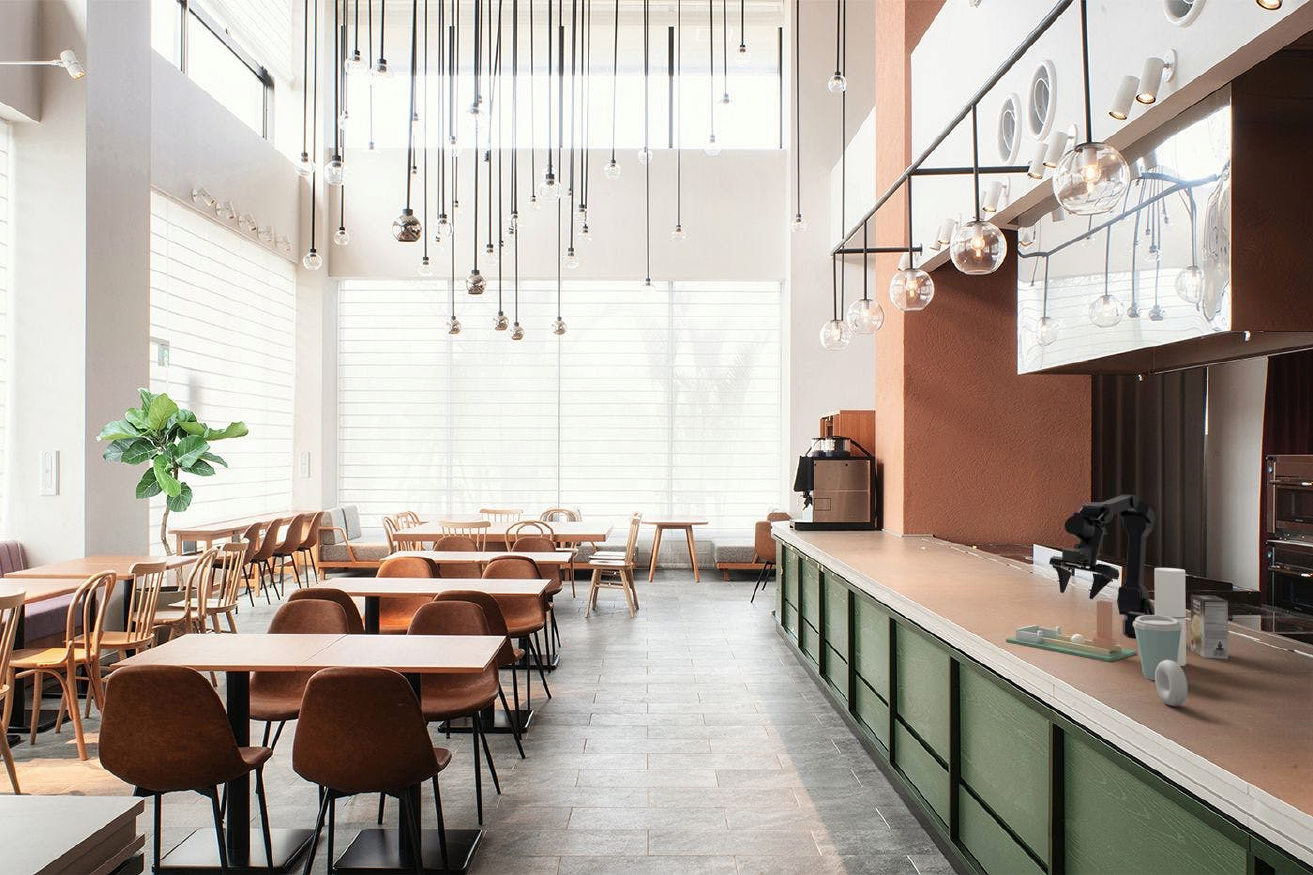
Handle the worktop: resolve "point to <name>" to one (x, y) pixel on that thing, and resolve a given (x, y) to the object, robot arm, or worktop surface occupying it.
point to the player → (1104, 627)
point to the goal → (1036, 633)
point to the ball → (1078, 639)
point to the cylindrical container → (1172, 601)
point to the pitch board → (1077, 648)
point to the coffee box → (1209, 626)
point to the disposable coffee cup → (1156, 641)
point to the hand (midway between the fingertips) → (1076, 595)
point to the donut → (1171, 683)
